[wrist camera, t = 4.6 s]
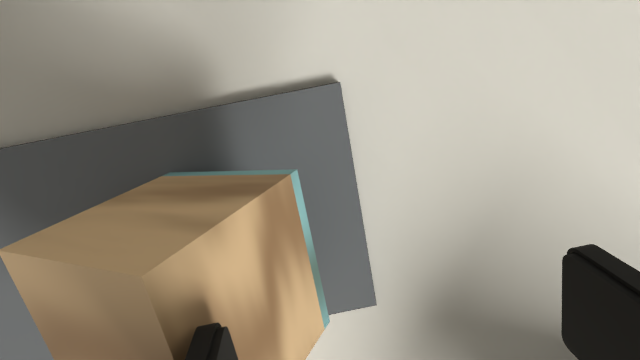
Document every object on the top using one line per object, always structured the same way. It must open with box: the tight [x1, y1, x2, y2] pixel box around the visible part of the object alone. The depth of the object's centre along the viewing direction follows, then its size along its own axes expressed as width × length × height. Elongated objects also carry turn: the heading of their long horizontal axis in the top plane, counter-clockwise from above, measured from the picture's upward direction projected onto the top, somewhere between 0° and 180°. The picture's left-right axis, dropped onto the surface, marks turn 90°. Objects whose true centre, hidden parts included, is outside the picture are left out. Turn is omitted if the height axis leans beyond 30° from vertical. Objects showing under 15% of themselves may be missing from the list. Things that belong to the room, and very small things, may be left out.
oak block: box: [0, 169, 330, 360], centre depth 14 cm, size 7×7×7 cm
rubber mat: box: [0, 82, 377, 360], centre depth 19 cm, size 12×25×1 cm, turn 101°
